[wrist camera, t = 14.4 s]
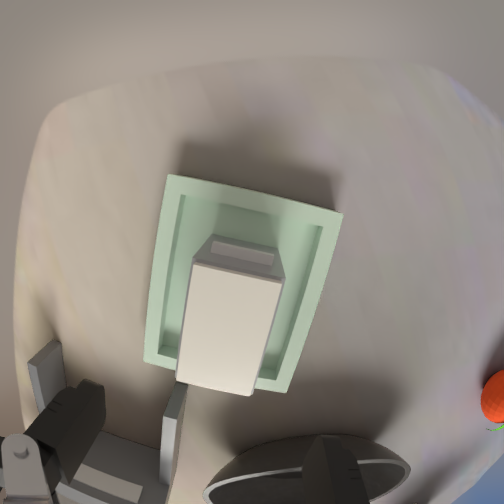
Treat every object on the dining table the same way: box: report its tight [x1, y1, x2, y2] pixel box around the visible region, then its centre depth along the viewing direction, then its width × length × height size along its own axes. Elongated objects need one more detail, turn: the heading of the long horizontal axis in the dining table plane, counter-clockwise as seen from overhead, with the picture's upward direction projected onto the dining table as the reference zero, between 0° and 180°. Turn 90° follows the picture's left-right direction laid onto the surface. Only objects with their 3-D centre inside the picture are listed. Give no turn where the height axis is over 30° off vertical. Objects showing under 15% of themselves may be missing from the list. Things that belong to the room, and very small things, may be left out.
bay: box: [27, 340, 188, 504], centre depth 24 cm, size 15×16×10 cm
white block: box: [175, 234, 286, 397], centre depth 20 cm, size 5×9×8 cm, turn 167°
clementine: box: [481, 370, 504, 431], centre depth 24 cm, size 8×7×7 cm
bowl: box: [203, 434, 411, 504], centre depth 26 cm, size 12×22×6 cm, turn 95°
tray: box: [143, 174, 344, 393], centre depth 23 cm, size 12×15×2 cm
